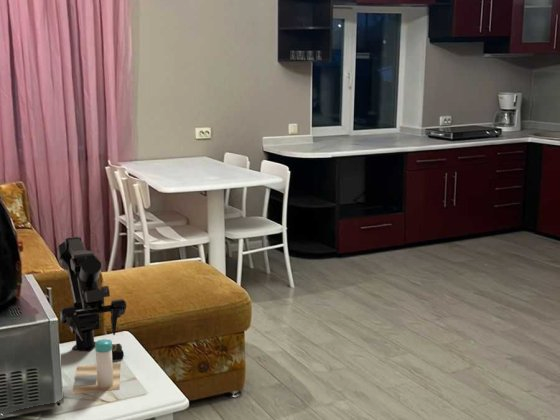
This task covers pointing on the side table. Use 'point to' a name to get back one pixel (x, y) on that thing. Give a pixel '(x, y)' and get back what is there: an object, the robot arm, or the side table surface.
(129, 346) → the side table surface
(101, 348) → the ball
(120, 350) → the tape measure
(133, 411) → the side table surface
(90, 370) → the board
